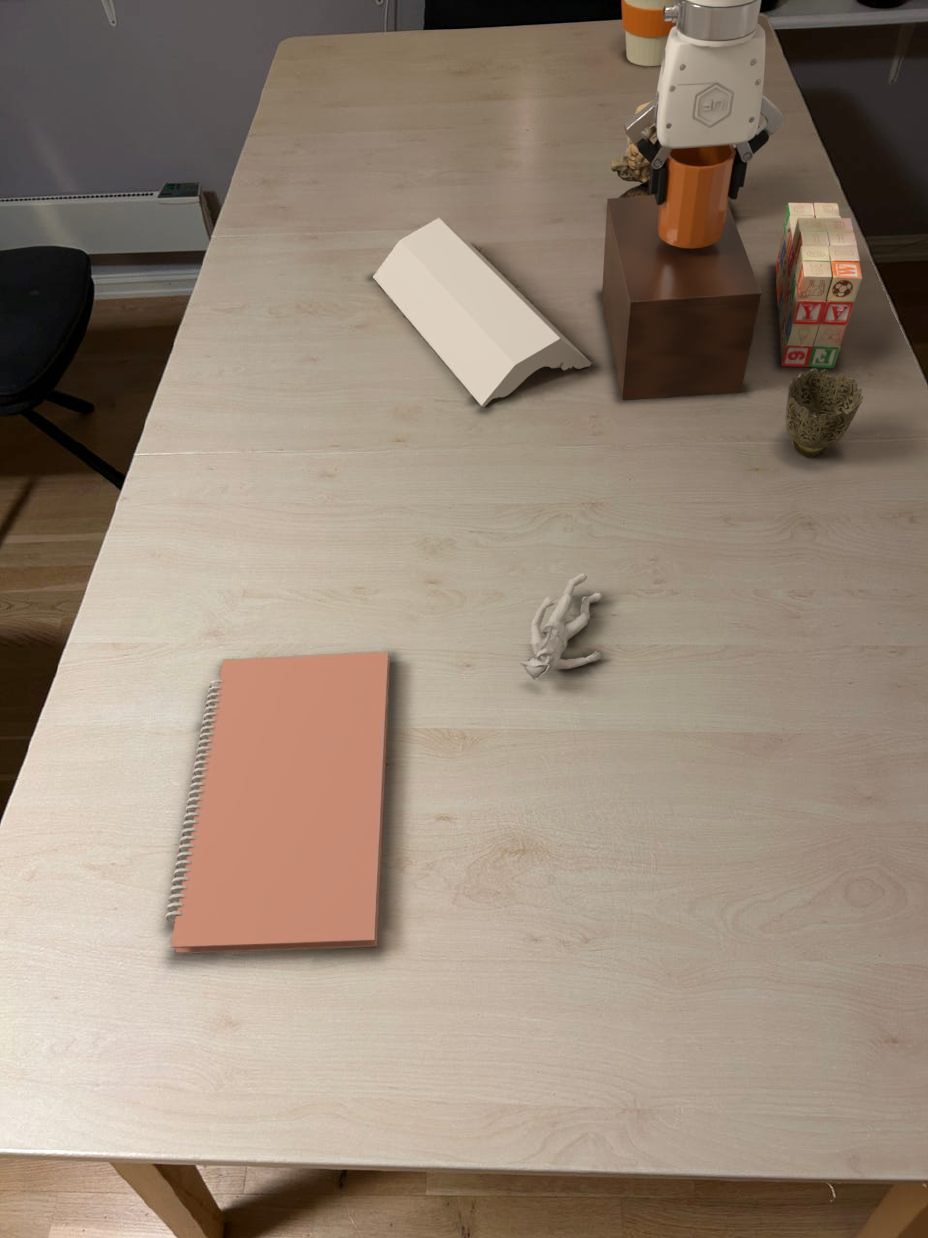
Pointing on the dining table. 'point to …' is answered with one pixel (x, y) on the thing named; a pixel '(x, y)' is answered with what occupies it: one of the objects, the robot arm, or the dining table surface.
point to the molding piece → (471, 313)
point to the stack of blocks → (815, 283)
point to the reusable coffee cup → (645, 30)
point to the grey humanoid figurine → (558, 632)
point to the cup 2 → (820, 410)
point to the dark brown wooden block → (676, 306)
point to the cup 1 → (696, 195)
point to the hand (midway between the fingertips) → (694, 194)
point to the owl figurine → (639, 165)
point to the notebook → (287, 807)
